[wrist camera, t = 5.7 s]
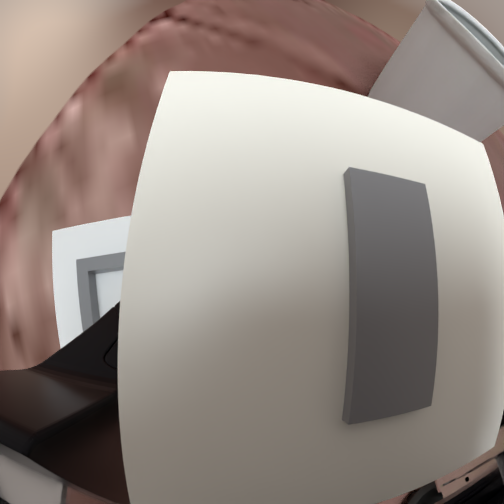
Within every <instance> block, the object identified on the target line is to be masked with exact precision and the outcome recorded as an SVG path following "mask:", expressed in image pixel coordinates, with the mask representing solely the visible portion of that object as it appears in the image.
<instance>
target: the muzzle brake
mask: <svg viewBox="0 0 504 504" xmlns="http://www.w3.org/2000/svg"><path fill="white" fill-rule="evenodd" d="M442 499H444V498H443V495H442V492H439V493H438V490H437V487H436V483H435V481H433V482H431V483H428V484H426V485H424V486H423V487H421V488H420V489H419V490H418V491H417V492H412V493H411V495H410V496H409V497H408V499H407V500H408V503H407V504H435V503H436V502H438V501H440V500H442Z"/></svg>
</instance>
